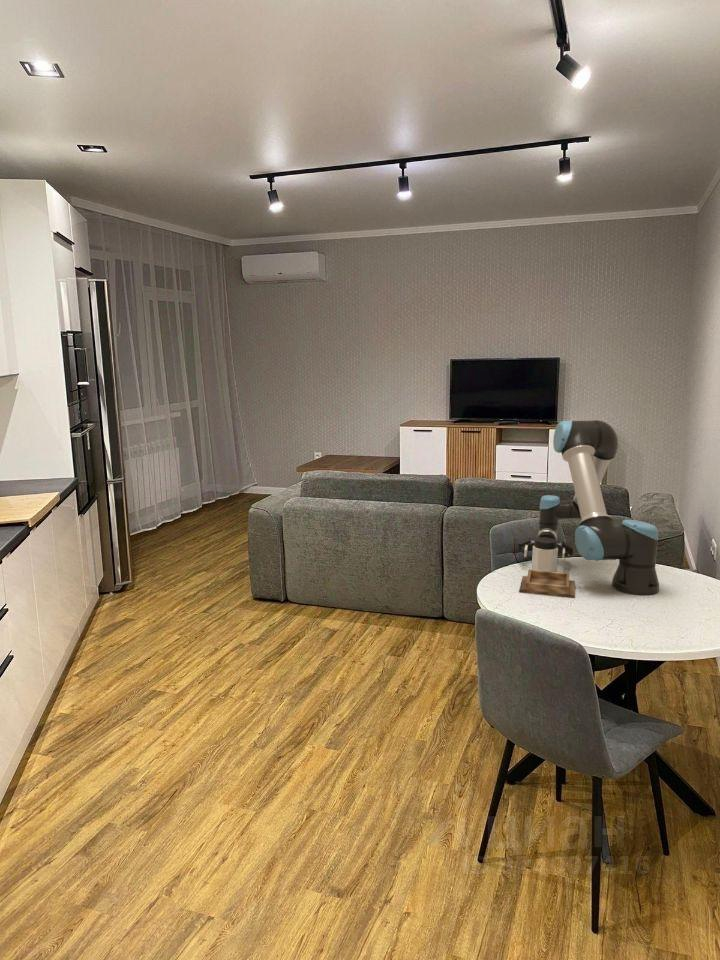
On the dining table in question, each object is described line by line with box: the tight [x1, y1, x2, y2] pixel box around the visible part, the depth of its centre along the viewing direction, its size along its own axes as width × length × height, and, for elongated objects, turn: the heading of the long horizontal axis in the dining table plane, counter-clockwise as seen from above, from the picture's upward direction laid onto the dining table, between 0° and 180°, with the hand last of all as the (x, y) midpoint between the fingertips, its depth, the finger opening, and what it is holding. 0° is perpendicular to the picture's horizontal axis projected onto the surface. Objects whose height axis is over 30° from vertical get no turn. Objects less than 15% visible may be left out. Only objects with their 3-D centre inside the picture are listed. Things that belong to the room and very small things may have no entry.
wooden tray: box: [518, 569, 576, 599], centre depth 246 cm, size 18×15×4 cm
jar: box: [531, 536, 559, 572], centre depth 263 cm, size 9×8×12 cm
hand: (544, 555), depth 262 cm, fingers open, 13 cm apart
